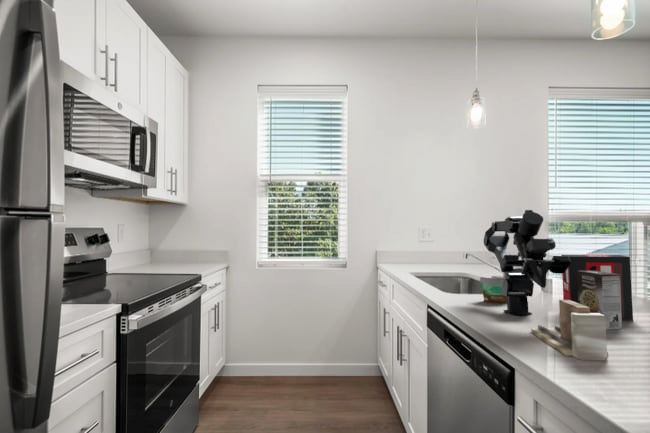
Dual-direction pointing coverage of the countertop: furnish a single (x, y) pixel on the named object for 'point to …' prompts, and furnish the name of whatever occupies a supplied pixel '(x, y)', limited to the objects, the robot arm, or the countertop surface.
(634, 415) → the countertop surface
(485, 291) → the food container
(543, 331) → the track
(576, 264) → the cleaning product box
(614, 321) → the coffee box
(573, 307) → the door
